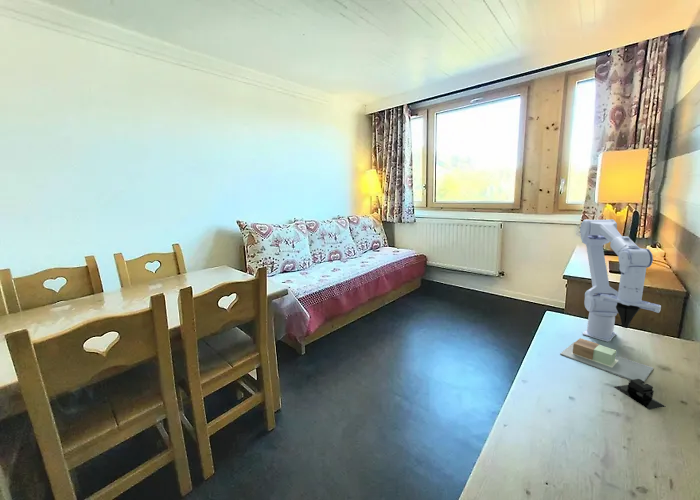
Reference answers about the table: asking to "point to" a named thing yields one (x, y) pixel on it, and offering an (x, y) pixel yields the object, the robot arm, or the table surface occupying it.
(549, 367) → the table surface
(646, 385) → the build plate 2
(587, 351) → the walnut block
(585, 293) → the robot arm
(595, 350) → the green block
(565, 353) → the plate
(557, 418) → the table surface
